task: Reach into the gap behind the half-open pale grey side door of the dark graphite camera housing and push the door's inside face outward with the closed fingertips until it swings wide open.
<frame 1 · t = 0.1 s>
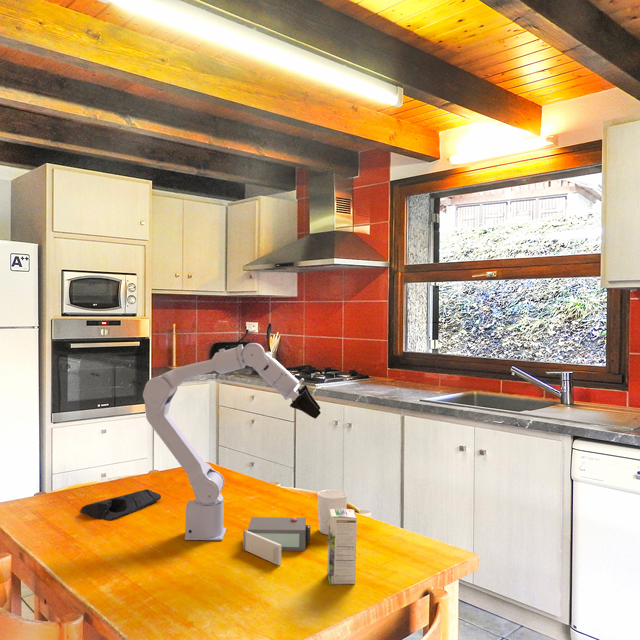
hand: (318, 413, 154), 32 cm above the table, tool tilted 50°, fingers open, 7 cm apart
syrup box: (341, 579, 130), on the table
folded black cloth: (122, 509, 176), on the table
white cup: (331, 531, 159), on the table
camera housing: (277, 543, 150), on the table
side door: (260, 547, 141), point 3 cm above the table, hinge at -45.0°
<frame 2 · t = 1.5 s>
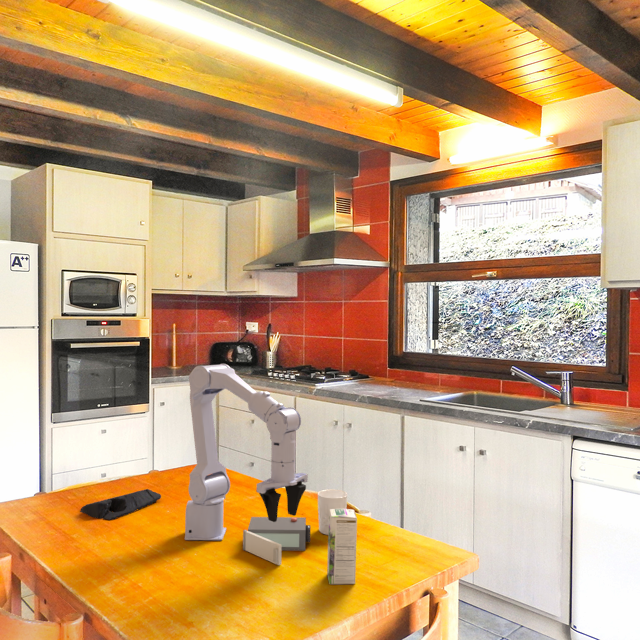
hand: (282, 517, 141), 9 cm above the table, tool pointing down, fingers open, 6 cm apart
nothing on the table moved.
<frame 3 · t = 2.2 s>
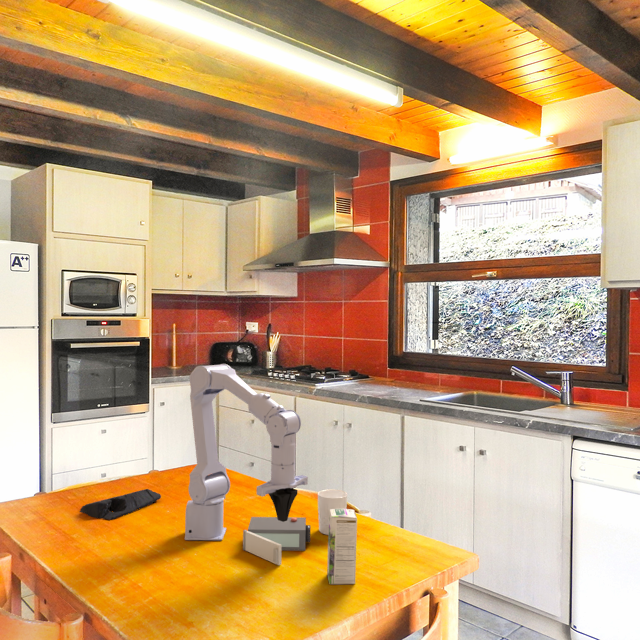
hand: (282, 520, 141), 9 cm above the table, tool pointing down, fingers closed
nothing on the table moved.
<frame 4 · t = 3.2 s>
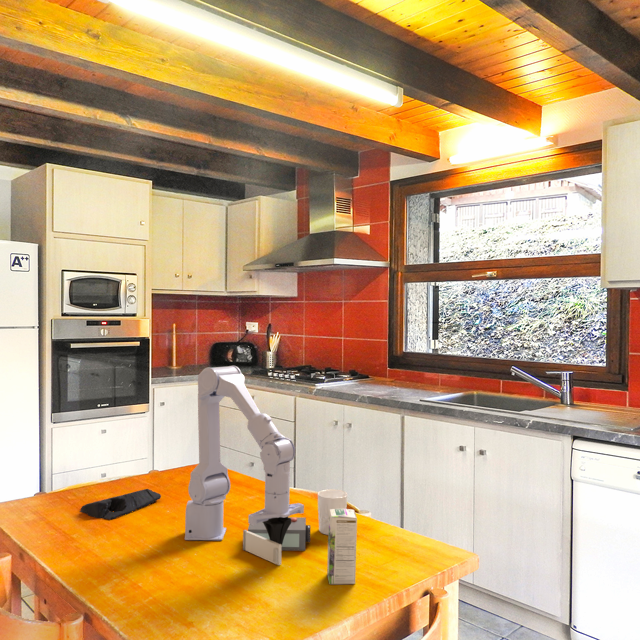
hand: (276, 548, 140), 2 cm above the table, tool pointing down, fingers closed
side door: (260, 547, 141), point 2 cm above the table, hinge at -45.0°, touching gripper
everything else where it was.
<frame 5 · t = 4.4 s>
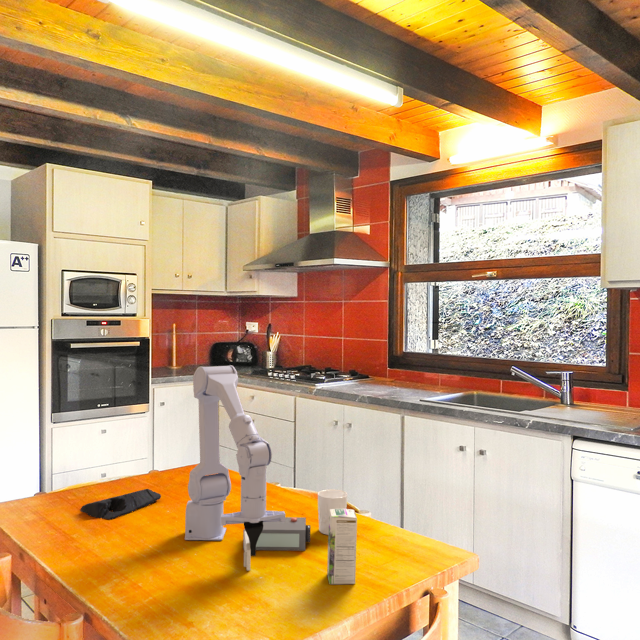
hand: (252, 554, 136), 2 cm above the table, tool pointing down, fingers closed
side door: (245, 549, 139), point 2 cm above the table, hinge at -81.1°, touching gripper
everything else where it was.
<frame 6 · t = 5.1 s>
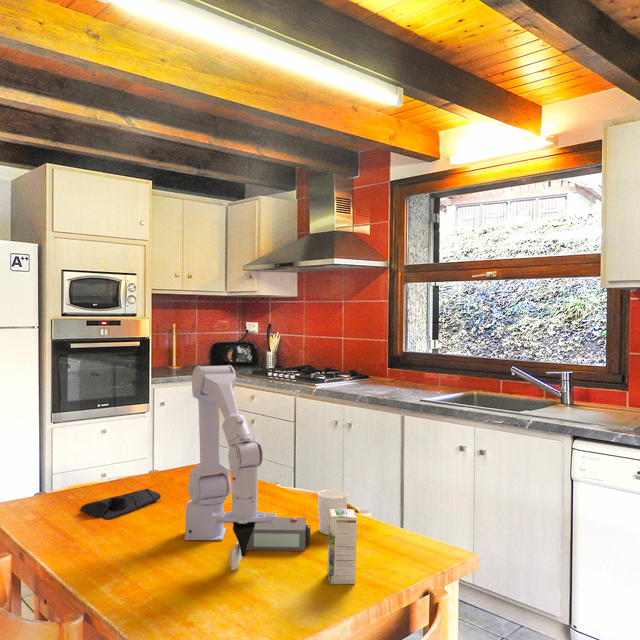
hand: (243, 554, 136), 2 cm above the table, tool pointing down, fingers closed
side door: (239, 548, 139), point 2 cm above the table, hinge at -97.1°, touching gripper
everything else where it was.
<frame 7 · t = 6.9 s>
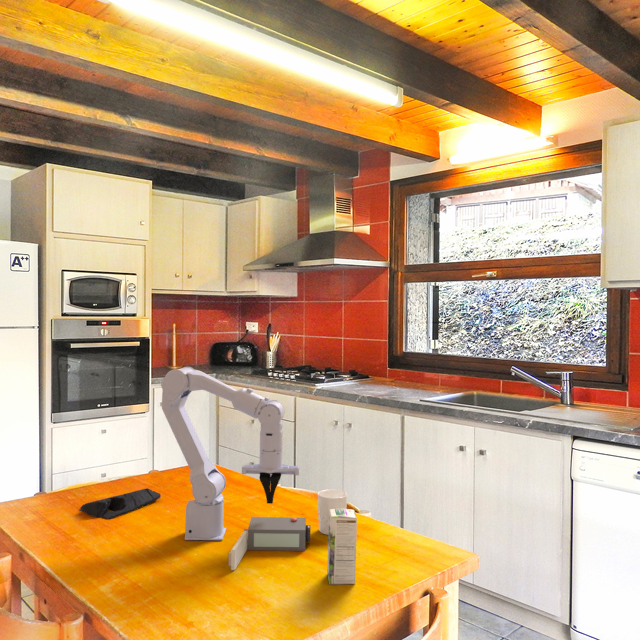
hand: (270, 502, 152), 9 cm above the table, tool pointing down, fingers closed
side door: (238, 548, 139), point 2 cm above the table, hinge at -97.5°
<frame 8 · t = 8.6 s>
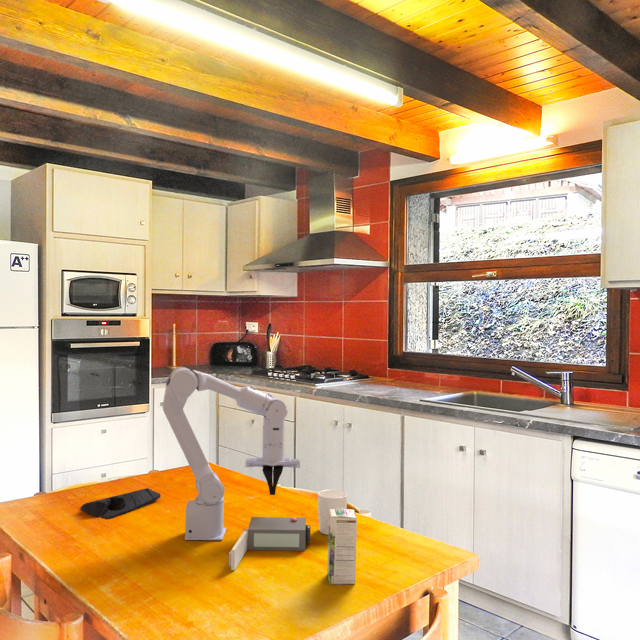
hand: (272, 493, 160), 9 cm above the table, tool pointing down, fingers closed
at the end: side door at -98° (first picture: -45°) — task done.
